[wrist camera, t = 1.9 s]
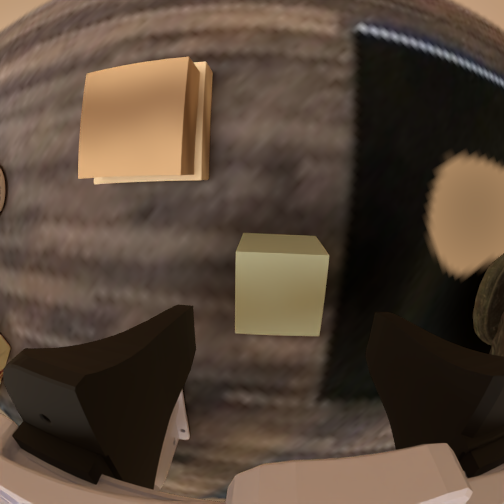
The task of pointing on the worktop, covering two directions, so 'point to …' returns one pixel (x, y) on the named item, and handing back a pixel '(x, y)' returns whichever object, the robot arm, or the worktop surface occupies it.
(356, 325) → the worktop surface
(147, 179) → the bottom slab
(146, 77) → the top slab
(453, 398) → the robot arm
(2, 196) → the supplement bottle
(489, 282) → the bowl
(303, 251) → the cube
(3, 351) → the gift box
